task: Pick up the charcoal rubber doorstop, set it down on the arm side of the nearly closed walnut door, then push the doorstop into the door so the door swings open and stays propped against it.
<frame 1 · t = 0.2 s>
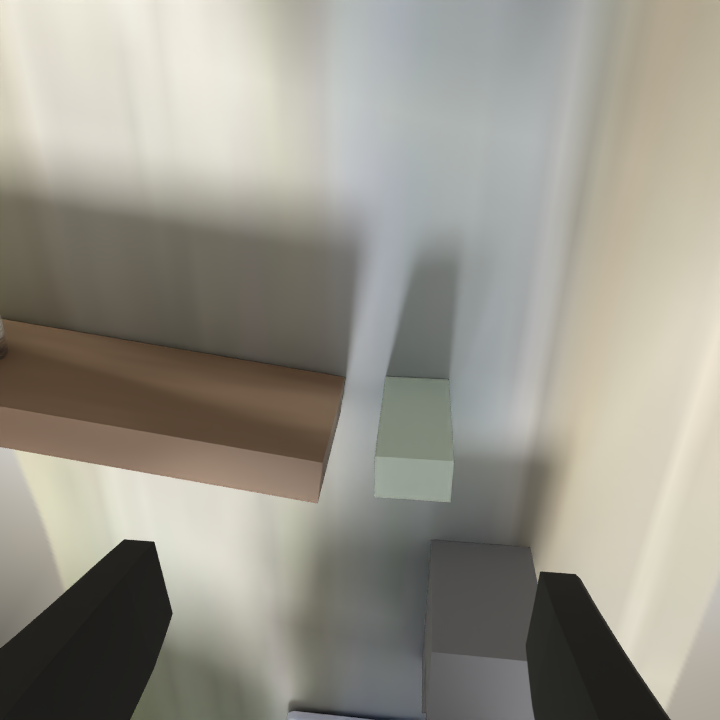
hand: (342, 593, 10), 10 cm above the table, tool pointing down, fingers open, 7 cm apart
door: (117, 381, 18), point 3 cm above the table, hinge at 8.0°
wedge: (475, 576, 24), on the table
wall frame: (357, 393, 20), on the table
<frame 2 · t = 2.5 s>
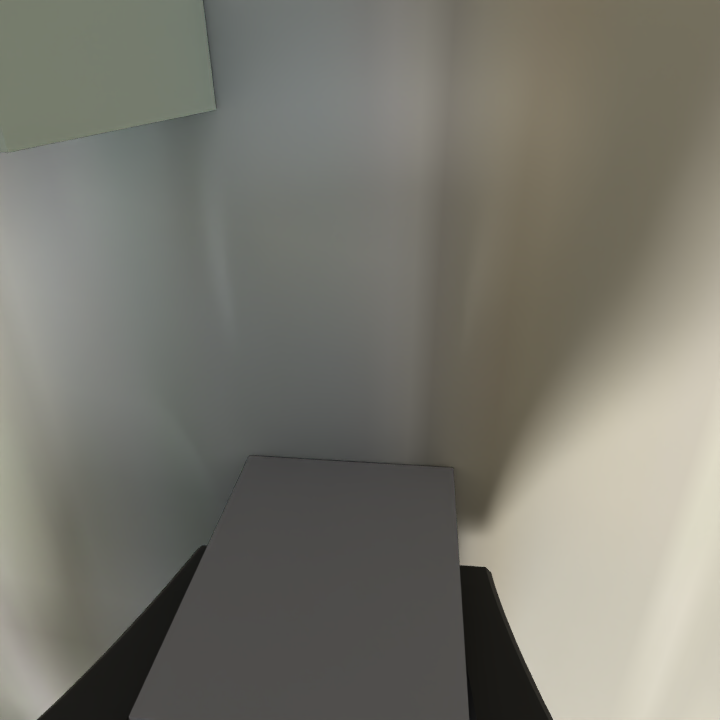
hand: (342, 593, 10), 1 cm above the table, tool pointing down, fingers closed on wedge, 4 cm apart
wedge: (351, 537, 12), on the table, touching gripper
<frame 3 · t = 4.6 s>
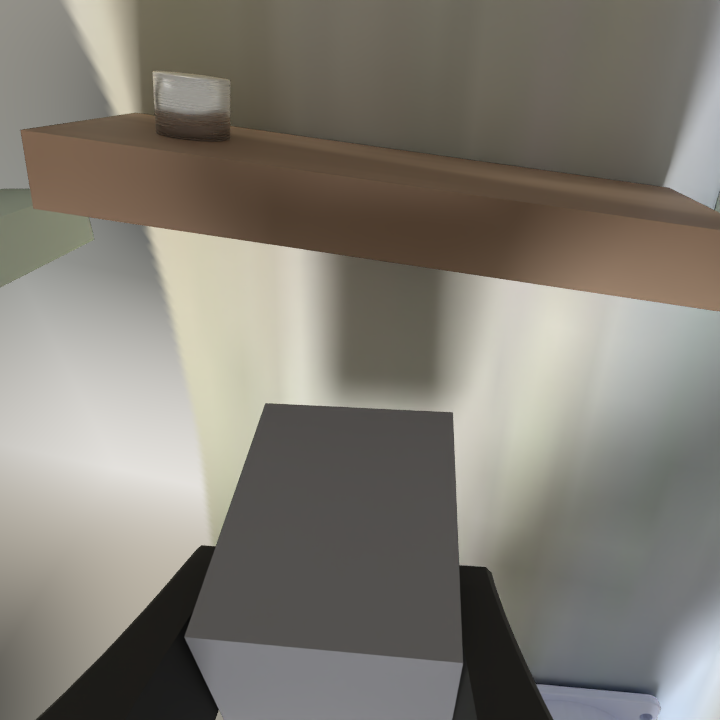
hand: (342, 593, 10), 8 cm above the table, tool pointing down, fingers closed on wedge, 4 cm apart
door: (390, 170, 12), point 3 cm above the table, hinge at 8.0°
wedge: (360, 470, 13), point 5 cm above the table, tilted 11°, touching gripper
wall frame: (672, 217, 15), on the table
when the fingers open (2 cm above the table, at t = 6.5 s): wedge stays where it is, on the table.
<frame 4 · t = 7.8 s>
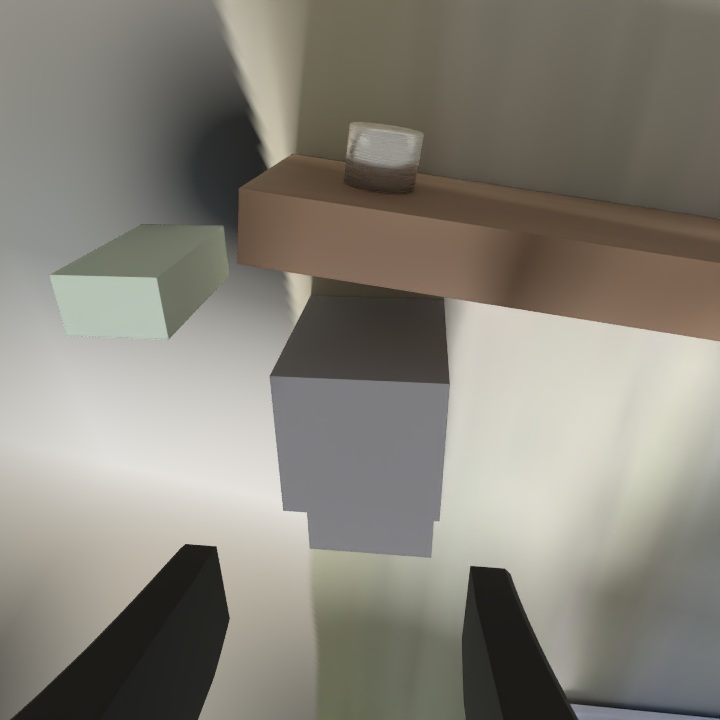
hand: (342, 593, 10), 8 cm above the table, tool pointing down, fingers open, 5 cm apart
door: (576, 222, 12), point 3 cm above the table, hinge at 8.0°
wedge: (376, 356, 18), on the table
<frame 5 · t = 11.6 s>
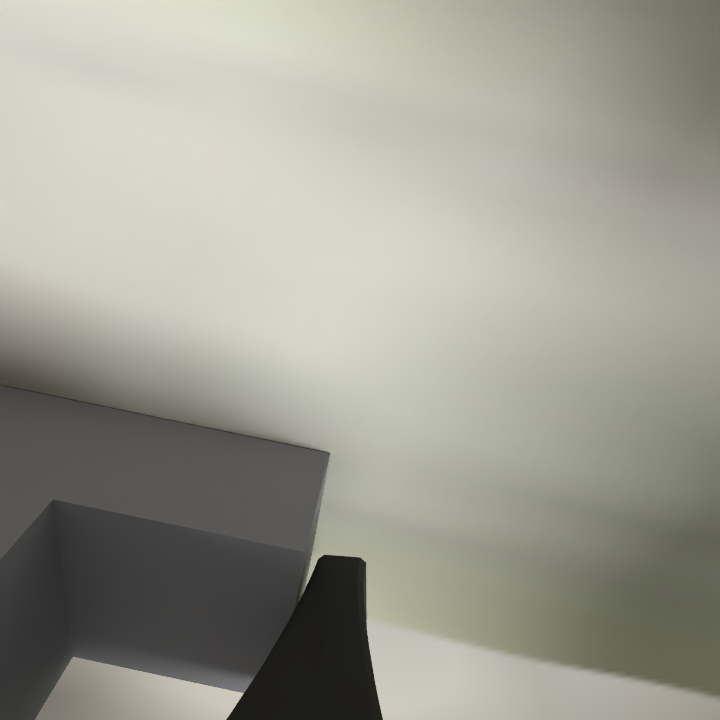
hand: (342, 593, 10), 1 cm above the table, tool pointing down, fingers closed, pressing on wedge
wedge: (40, 469, 12), on the table, touching gripper
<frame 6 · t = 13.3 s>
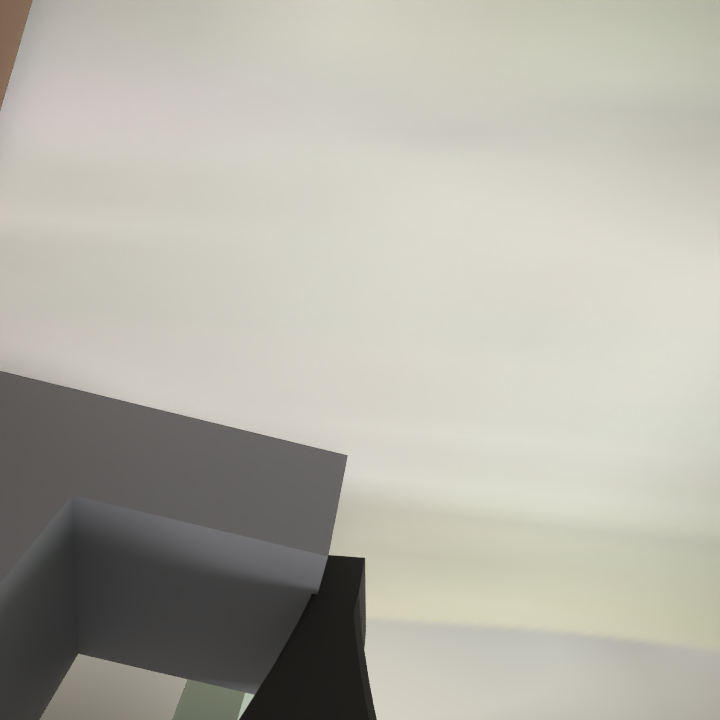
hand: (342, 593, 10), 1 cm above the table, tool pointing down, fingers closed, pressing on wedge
wedge: (47, 461, 12), on the table, touching door, gripper
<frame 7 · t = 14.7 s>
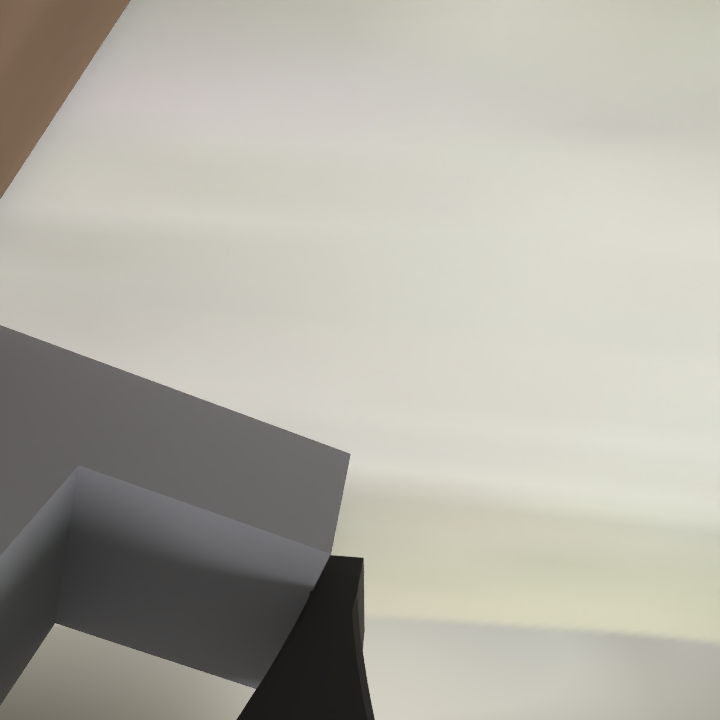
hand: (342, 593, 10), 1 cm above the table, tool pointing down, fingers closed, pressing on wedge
wedge: (40, 424, 11), on the table, touching door, gripper
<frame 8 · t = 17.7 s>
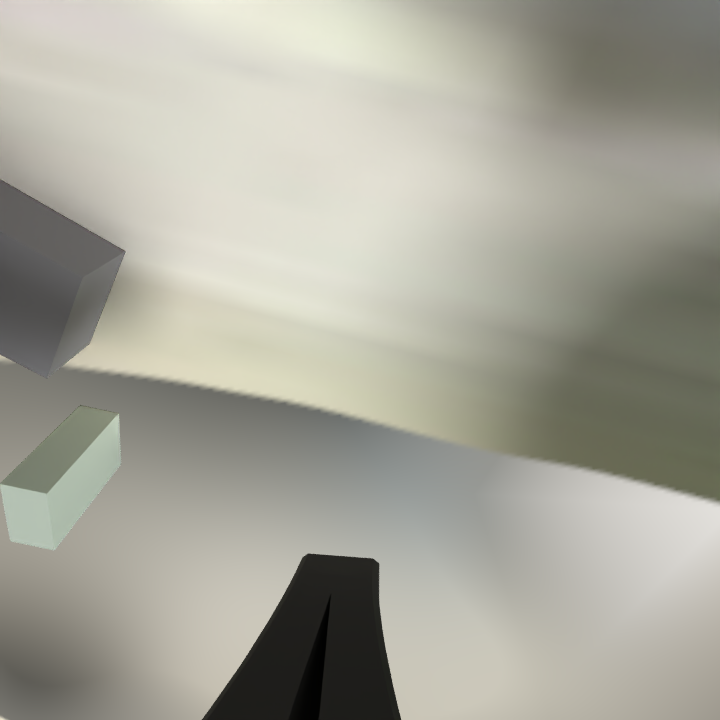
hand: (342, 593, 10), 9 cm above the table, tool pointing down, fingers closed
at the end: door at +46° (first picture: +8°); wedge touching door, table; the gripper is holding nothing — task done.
